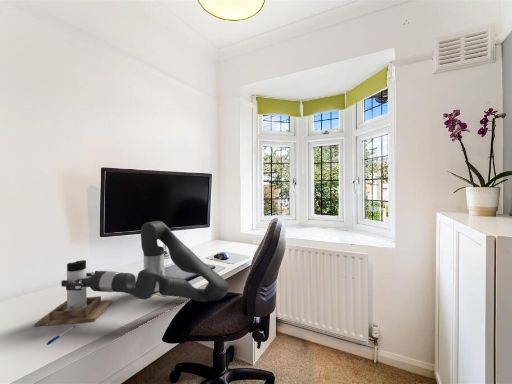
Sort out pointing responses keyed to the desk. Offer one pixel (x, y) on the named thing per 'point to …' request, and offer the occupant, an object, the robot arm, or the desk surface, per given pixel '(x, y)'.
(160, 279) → the robot arm
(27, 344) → the desk surface
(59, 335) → the ballpoint pen
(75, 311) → the mug holder
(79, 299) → the travel mug
